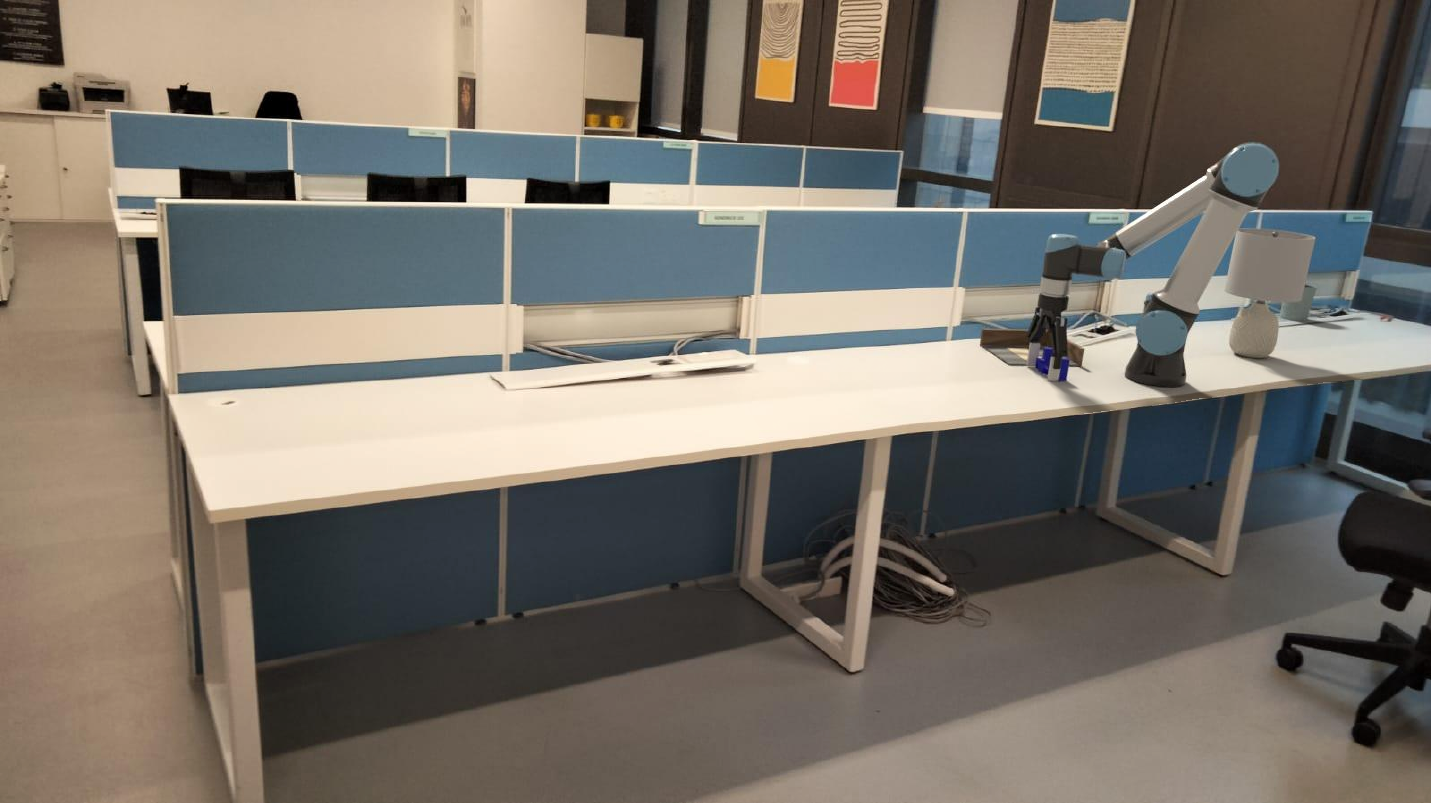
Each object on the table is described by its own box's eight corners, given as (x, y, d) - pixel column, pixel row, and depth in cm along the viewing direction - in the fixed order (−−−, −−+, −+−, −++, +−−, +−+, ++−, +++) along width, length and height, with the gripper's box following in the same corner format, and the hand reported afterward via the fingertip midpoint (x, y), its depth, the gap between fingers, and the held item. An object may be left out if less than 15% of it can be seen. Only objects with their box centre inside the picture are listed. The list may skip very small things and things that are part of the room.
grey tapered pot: (1279, 319, 364) (1287, 285, 361) (1274, 313, 373) (1282, 280, 370) (1312, 322, 361) (1320, 288, 358) (1306, 317, 370) (1313, 283, 367)
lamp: (1269, 367, 297) (1297, 239, 286) (1199, 351, 312) (1224, 228, 301) (1299, 358, 310) (1327, 234, 299) (1231, 343, 324) (1256, 224, 313)
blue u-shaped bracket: (1035, 368, 284) (1038, 347, 282) (1051, 369, 284) (1054, 347, 282) (1049, 380, 273) (1052, 358, 271) (1066, 381, 273) (1069, 359, 271)
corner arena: (1081, 366, 288) (1084, 348, 286) (1008, 365, 285) (1011, 347, 283) (1048, 346, 308) (1050, 330, 306) (979, 345, 305) (982, 328, 303)
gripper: (1090, 304, 261) (1076, 386, 267) (1047, 285, 284) (1035, 360, 290) (1061, 304, 259) (1048, 386, 266) (1021, 284, 283) (1010, 360, 289)
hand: (1042, 373), depth 278 cm, fingers open, 12 cm apart
